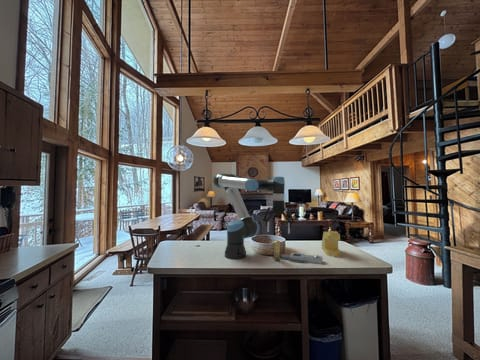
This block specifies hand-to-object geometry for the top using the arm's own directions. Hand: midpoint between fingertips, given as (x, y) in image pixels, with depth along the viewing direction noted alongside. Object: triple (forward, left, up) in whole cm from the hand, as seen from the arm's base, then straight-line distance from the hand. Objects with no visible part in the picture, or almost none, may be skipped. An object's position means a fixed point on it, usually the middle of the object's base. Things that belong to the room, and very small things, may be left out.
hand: (278, 232), depth 142 cm
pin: (-1, -1, -18) cm, 18 cm away
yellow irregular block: (+32, +31, -18) cm, 48 cm away
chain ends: (+11, +5, -18) cm, 22 cm away
